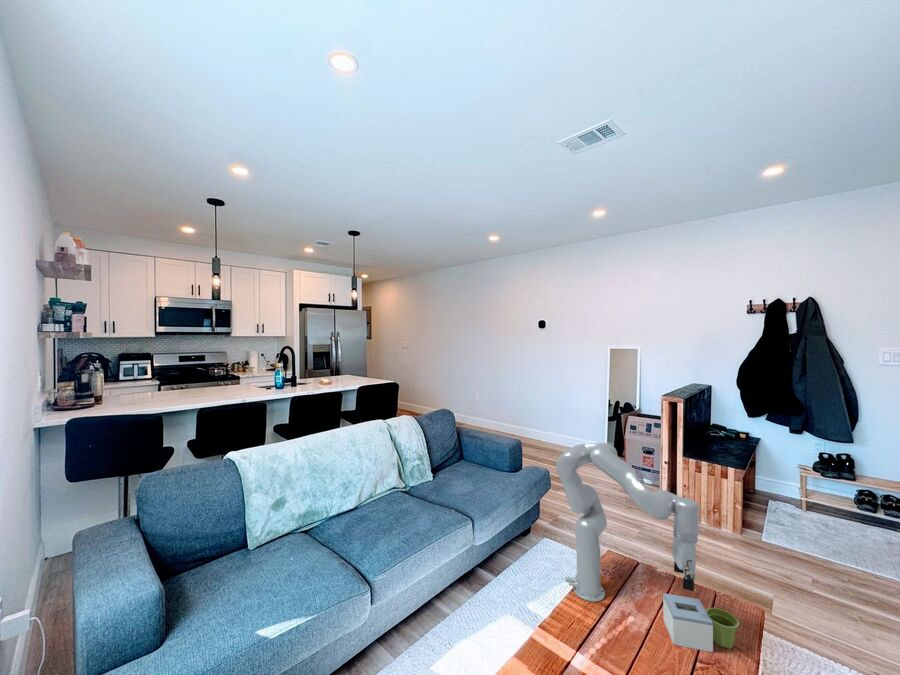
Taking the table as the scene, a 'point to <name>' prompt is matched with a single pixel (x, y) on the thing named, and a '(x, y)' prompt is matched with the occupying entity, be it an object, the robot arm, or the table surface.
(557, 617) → the table surface
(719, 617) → the plant pot
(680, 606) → the grey slotted box
